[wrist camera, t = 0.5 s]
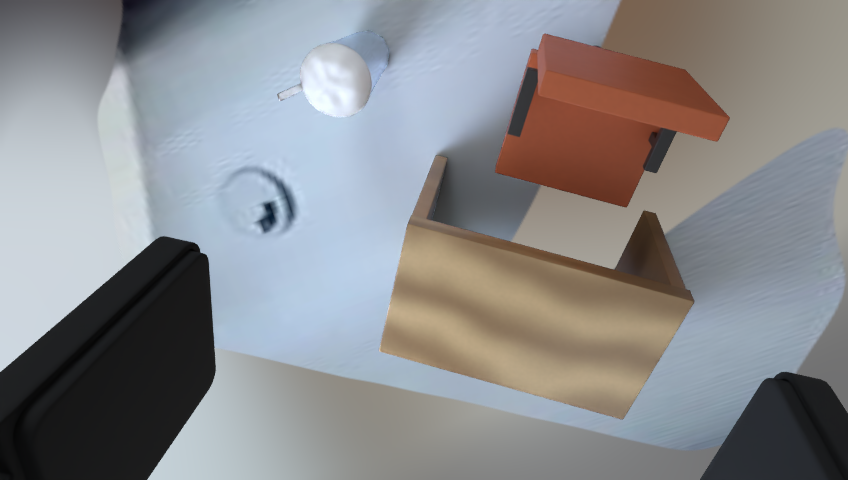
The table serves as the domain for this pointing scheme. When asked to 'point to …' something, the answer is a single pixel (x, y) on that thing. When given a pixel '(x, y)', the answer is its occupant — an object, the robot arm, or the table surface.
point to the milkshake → (342, 73)
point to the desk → (534, 310)
